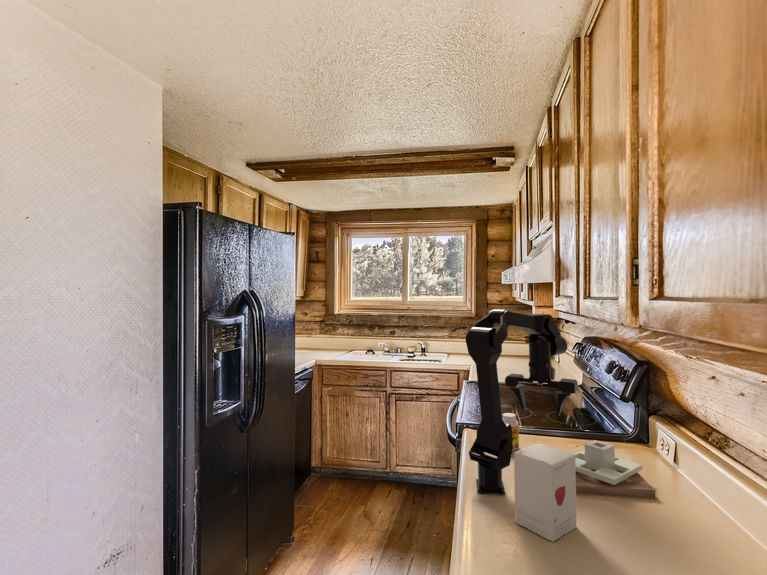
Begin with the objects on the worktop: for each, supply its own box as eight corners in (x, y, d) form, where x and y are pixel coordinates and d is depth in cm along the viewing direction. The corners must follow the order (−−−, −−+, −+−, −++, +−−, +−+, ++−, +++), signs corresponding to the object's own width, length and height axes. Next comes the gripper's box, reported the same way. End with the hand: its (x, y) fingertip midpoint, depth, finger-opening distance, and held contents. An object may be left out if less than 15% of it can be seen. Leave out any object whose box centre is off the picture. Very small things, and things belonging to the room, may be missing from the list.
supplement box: (553, 544, 79) (551, 465, 79) (513, 523, 86) (512, 451, 86) (578, 527, 84) (576, 453, 84) (539, 509, 92) (537, 441, 92)
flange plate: (642, 469, 104) (641, 446, 104) (614, 485, 96) (613, 460, 96) (587, 452, 115) (587, 432, 116) (558, 465, 107) (558, 443, 108)
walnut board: (655, 498, 95) (654, 468, 95) (572, 493, 98) (571, 463, 98) (624, 466, 113) (623, 440, 113) (554, 462, 116) (554, 437, 116)
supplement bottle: (501, 450, 126) (500, 417, 126) (499, 444, 131) (498, 411, 131) (520, 451, 125) (520, 417, 125) (517, 444, 130) (516, 412, 130)
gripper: (580, 356, 118) (581, 411, 118) (515, 352, 129) (516, 402, 129) (573, 362, 109) (575, 421, 109) (503, 357, 120) (504, 411, 119)
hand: (541, 413), depth 117 cm, fingers open, 9 cm apart
